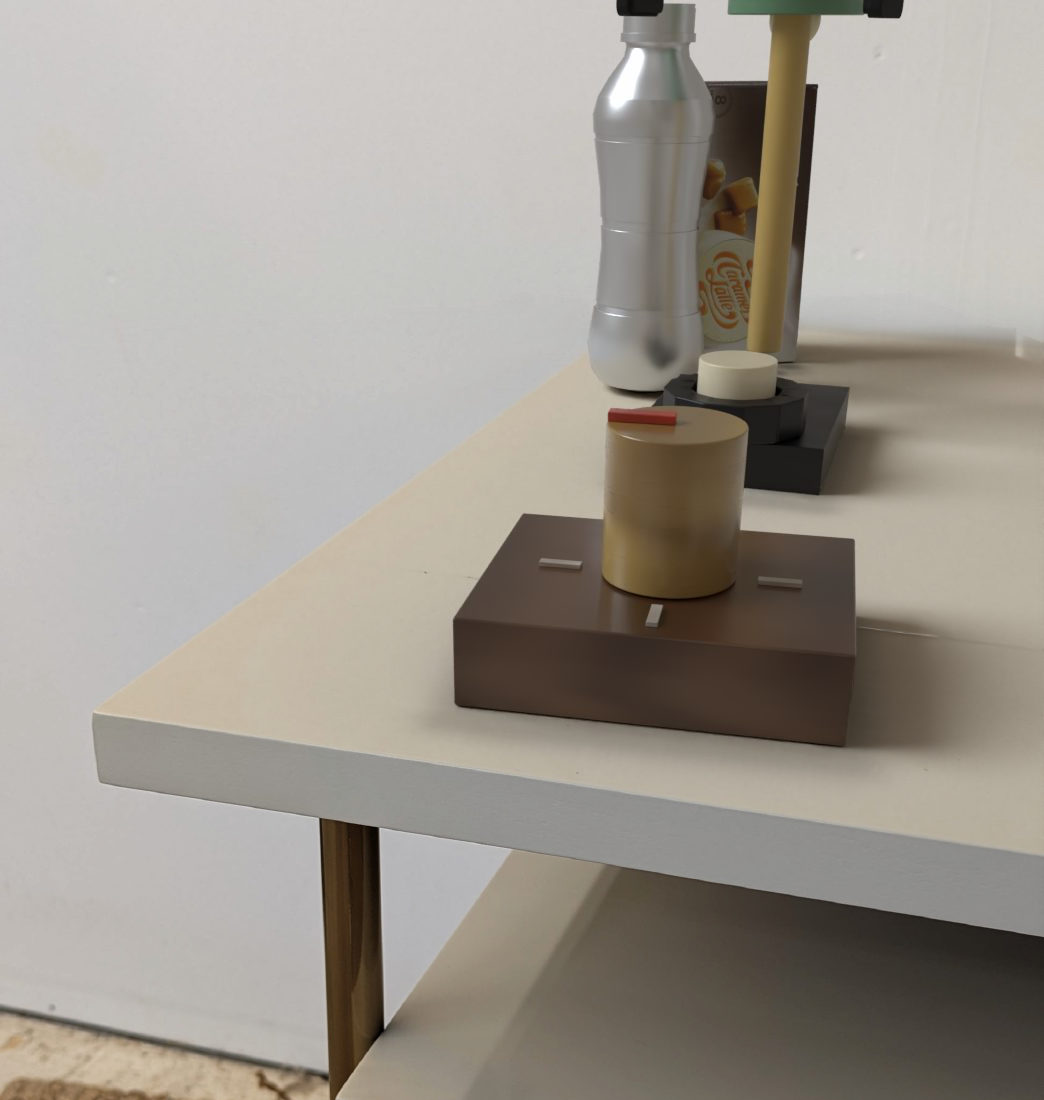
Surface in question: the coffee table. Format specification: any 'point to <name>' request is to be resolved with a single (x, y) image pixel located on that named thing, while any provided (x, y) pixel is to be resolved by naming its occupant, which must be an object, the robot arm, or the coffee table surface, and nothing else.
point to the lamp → (781, 154)
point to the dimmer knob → (673, 500)
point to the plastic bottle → (651, 205)
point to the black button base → (779, 430)
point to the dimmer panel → (663, 637)
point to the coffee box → (745, 216)
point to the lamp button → (737, 375)
